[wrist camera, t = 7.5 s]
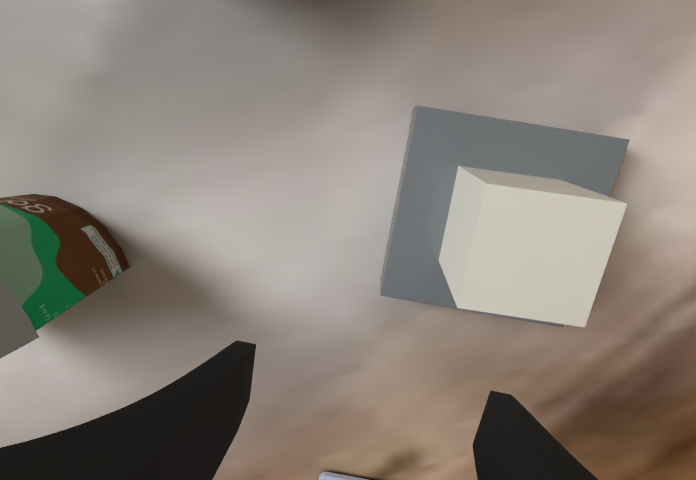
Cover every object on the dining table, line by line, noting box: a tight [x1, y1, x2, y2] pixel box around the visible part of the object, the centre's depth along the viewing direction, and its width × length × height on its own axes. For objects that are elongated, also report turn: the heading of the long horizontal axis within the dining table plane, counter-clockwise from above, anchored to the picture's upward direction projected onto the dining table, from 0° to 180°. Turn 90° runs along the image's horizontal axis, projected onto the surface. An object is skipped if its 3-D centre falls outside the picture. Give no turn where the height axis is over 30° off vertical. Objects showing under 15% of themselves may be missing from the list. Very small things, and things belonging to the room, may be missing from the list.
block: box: [439, 166, 628, 327], centre depth 16 cm, size 4×4×5 cm
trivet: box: [381, 106, 629, 327], centre depth 19 cm, size 9×9×2 cm
